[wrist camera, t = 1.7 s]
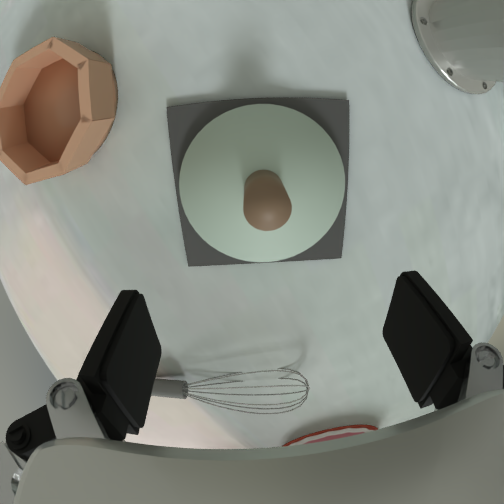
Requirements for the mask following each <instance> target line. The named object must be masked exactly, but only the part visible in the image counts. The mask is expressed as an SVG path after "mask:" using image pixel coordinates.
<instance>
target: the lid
mask: <svg viewBox="0 0 504 504" xmlns="http://www.w3.org/2000/svg"><path fill="white" fill-rule="evenodd" d="M179 190H180V198H181V202H182V206H183V209H184V212H185V214H186V216H187V218H188V220H189V222H190V224H191V225H192V227H193V228H194V230H195V231H196V232H197V233H198V234H199V235H200V237H201V238H202V239H203V240H204V241H206V242H207V243H208V244H209V245H210V246H212V247H213V248H215V249H216V250H218V251H220V252H222V253H224V254H226V255H228V256H230V257H233V258H236V259H240V260H244V261H250V262H273V261H279V260H283V259H287V258H290V257H292V256H295V255H297V254H299V253H301V252H303V251H305V250H307V249H308V248H310V247H311V246H313V245H314V244H315V243H316V242H318V241H319V240H320V239H321V238H322V237H323V236H324V235H325V234H326V233H327V231H328V230H329V229H330V227H331V226H332V225H333V223H334V221H335V219H336V218H337V216H338V213H339V211H340V208H341V206H342V202H343V198H344V191H345V173H344V167H343V163H342V160H341V156H340V154H339V152H338V150H337V147H336V145H335V144H334V142H333V141H332V139H331V138H330V136H329V135H328V134H327V133H326V132H325V130H324V129H323V128H322V127H321V126H319V125H318V124H317V123H316V122H315V121H314V120H312V119H311V118H309V117H308V116H306V115H304V114H302V113H300V112H298V111H296V110H294V109H291V108H287V107H284V106H279V105H274V104H253V105H246V106H242V107H238V108H235V109H232V110H230V111H227V112H225V113H223V114H221V115H220V116H218V117H216V118H215V119H213V120H212V121H211V122H209V123H208V124H207V125H206V126H205V127H204V128H203V129H202V130H201V131H200V132H199V133H198V134H197V135H196V137H195V138H194V139H193V141H192V142H191V144H190V146H189V148H188V149H187V151H186V153H185V156H184V159H183V162H182V166H181V170H180V178H179Z"/></svg>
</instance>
